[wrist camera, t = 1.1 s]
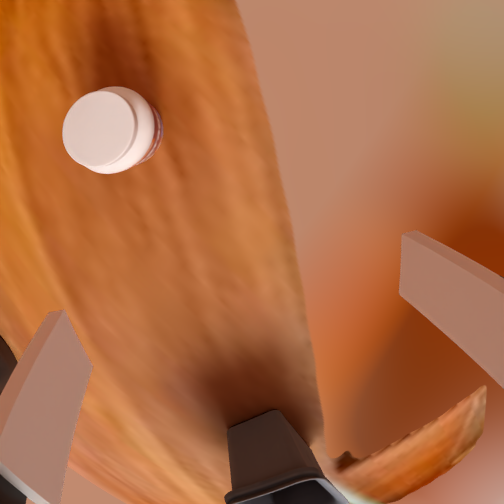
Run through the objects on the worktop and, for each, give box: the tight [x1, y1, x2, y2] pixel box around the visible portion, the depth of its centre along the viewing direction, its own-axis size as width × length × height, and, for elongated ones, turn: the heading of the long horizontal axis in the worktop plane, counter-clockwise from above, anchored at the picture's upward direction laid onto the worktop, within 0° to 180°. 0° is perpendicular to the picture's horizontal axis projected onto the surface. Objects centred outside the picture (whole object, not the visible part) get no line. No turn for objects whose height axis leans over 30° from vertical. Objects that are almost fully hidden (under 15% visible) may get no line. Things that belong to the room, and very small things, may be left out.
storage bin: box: [224, 410, 349, 504], centre depth 37 cm, size 21×16×14 cm
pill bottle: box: [62, 86, 163, 174], centre depth 20 cm, size 6×6×11 cm
